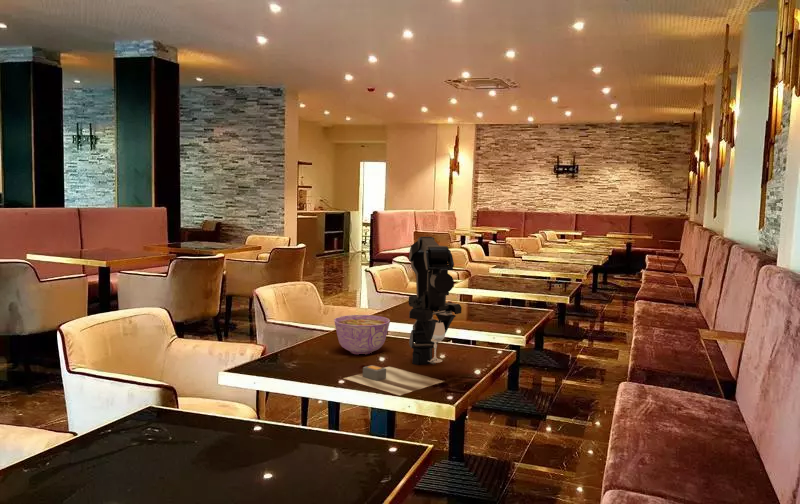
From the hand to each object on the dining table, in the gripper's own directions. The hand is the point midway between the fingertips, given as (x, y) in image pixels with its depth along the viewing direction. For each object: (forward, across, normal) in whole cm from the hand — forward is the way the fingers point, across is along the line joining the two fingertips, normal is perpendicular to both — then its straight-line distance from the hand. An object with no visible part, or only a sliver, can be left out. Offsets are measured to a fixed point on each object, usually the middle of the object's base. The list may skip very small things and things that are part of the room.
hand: (435, 339), depth 197 cm
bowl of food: (+13, -11, -42) cm, 45 cm away
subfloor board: (+13, +10, -8) cm, 18 cm away
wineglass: (+7, 0, 0) cm, 7 cm away
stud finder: (+12, +12, -14) cm, 22 cm away
